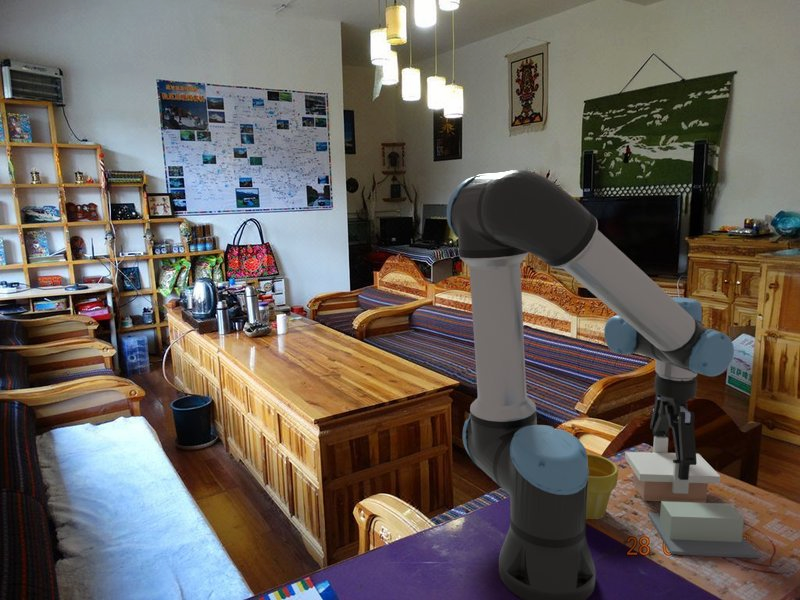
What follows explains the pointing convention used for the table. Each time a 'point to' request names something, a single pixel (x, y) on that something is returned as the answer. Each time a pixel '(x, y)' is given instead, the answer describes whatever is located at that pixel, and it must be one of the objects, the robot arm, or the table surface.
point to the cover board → (668, 468)
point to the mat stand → (702, 529)
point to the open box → (670, 491)
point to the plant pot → (599, 485)
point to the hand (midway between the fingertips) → (669, 478)
